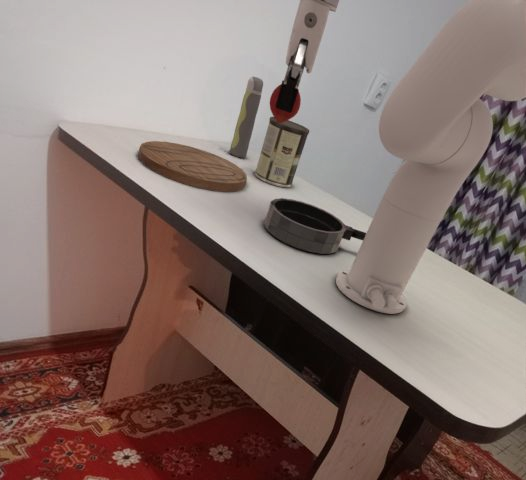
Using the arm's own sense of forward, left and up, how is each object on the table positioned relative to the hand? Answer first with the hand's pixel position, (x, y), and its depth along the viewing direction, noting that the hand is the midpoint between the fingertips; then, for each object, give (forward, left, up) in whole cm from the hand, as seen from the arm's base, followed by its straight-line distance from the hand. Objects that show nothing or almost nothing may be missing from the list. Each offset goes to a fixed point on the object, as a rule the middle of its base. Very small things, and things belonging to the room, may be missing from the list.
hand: (283, 106), depth 88 cm
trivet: (+13, +16, -20) cm, 29 cm away
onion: (0, 0, -3) cm, 3 cm away
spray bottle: (+41, +8, -20) cm, 46 cm away
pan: (-9, -10, -20) cm, 24 cm away
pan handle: (-9, -24, -17) cm, 31 cm away
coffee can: (+27, -3, -20) cm, 34 cm away
